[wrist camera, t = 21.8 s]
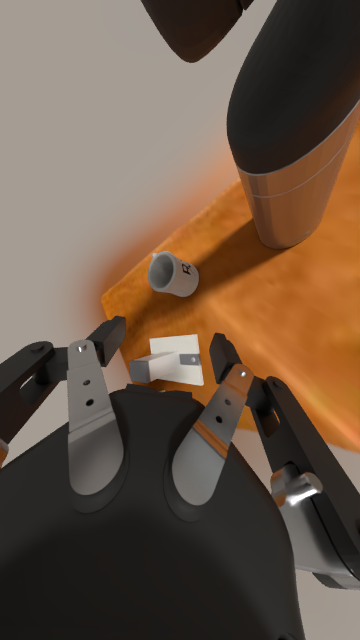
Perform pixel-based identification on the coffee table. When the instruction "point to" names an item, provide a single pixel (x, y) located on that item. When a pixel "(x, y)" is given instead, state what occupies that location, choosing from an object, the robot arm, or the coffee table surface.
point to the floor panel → (181, 358)
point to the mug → (172, 275)
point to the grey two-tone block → (154, 366)
